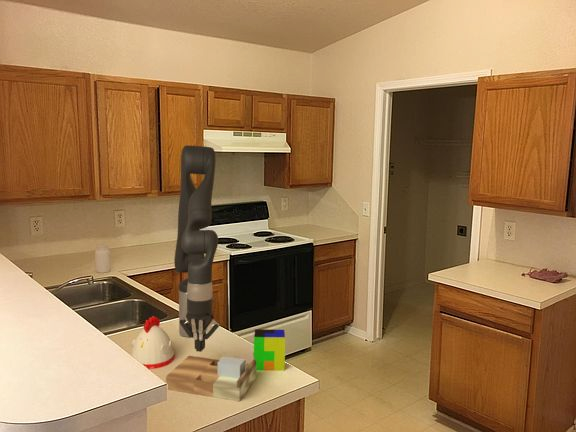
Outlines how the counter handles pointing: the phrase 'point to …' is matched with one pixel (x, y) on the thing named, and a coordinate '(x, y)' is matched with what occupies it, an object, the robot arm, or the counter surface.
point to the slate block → (231, 367)
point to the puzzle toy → (269, 349)
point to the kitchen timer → (153, 346)
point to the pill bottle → (102, 259)
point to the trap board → (209, 379)
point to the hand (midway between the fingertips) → (199, 350)
